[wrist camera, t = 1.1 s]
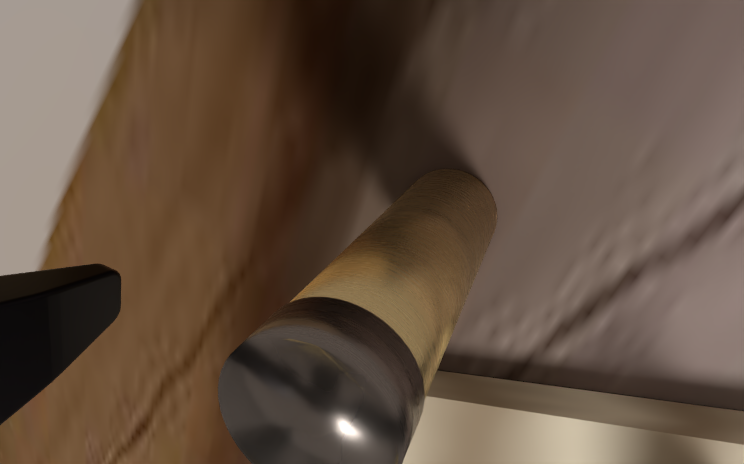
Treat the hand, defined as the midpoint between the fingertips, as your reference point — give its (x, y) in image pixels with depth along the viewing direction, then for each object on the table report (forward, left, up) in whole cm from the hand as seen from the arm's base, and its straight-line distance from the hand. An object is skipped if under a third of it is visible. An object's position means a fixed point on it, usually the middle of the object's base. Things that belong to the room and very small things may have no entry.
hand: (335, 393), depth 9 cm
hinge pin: (0, 0, -9) cm, 9 cm away
